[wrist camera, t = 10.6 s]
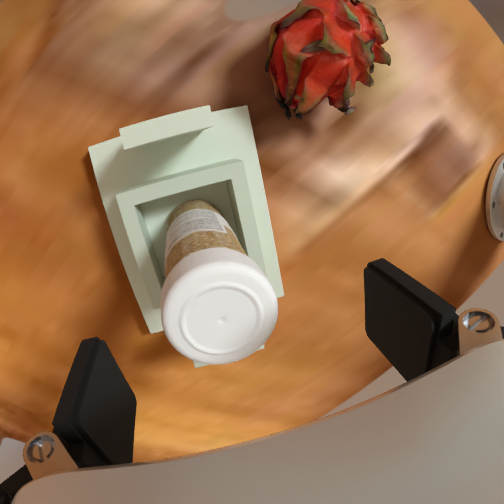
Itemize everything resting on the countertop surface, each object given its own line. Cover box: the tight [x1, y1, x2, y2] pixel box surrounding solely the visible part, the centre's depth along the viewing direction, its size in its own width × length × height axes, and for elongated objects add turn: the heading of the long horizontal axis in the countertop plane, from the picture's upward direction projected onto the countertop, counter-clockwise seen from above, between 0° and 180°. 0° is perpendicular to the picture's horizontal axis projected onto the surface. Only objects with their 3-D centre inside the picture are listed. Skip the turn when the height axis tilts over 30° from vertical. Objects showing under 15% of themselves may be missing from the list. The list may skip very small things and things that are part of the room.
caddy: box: [88, 105, 284, 368], centre depth 22 cm, size 12×16×7 cm
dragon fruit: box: [265, 0, 391, 125], centre depth 20 cm, size 8×8×12 cm
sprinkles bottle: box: [161, 199, 278, 365], centre depth 18 cm, size 5×5×14 cm
